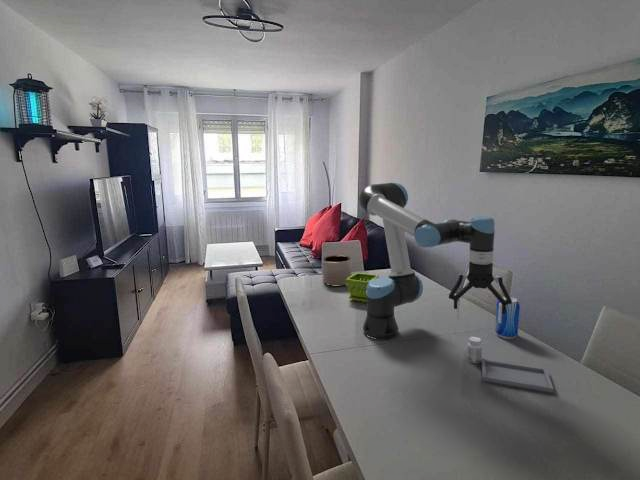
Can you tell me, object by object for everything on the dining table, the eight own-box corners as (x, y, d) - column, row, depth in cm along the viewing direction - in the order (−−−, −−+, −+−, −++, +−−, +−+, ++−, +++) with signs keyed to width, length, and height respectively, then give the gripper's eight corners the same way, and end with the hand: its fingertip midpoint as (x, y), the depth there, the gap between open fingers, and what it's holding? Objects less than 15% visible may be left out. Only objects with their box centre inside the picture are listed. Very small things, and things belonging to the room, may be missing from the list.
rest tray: (482, 381, 119) (482, 376, 118) (481, 363, 129) (481, 358, 129) (553, 394, 111) (553, 388, 111) (545, 373, 122) (546, 368, 121)
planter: (321, 287, 218) (320, 262, 214) (325, 278, 235) (324, 254, 232) (350, 287, 215) (349, 262, 211) (352, 278, 232) (352, 255, 229)
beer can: (520, 340, 144) (523, 303, 141) (497, 339, 146) (500, 302, 143) (513, 331, 152) (516, 295, 149) (492, 330, 154) (494, 295, 151)
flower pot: (379, 297, 198) (379, 275, 195) (369, 305, 186) (368, 282, 184) (357, 293, 205) (356, 271, 202) (345, 301, 194) (344, 278, 191)
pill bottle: (480, 358, 133) (481, 337, 131) (481, 364, 128) (482, 342, 127) (466, 356, 134) (467, 335, 133) (467, 362, 130) (468, 341, 128)
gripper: (442, 262, 125) (440, 319, 129) (523, 266, 115) (519, 328, 119) (443, 257, 132) (442, 311, 136) (520, 261, 122) (516, 319, 126)
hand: (478, 319), depth 127 cm, fingers open, 13 cm apart
